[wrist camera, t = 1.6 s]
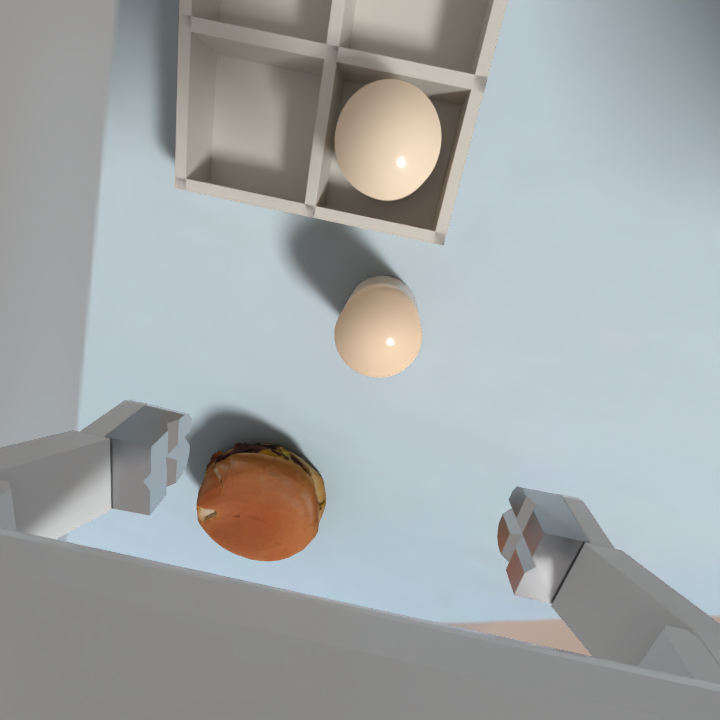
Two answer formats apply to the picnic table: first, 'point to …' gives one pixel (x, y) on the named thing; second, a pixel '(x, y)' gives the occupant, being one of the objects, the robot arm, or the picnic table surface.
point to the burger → (261, 501)
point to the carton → (324, 99)
